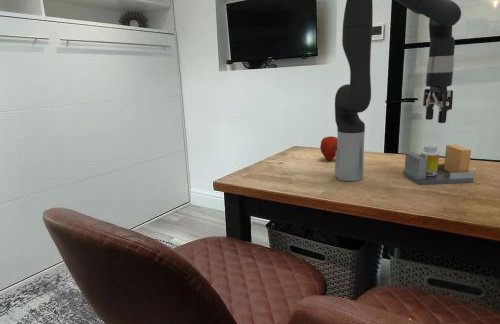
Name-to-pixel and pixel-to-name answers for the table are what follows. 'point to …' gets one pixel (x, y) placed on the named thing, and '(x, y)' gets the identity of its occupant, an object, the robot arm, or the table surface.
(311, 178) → the table surface
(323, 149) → the apple
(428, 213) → the table surface
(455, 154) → the tan rectangular block
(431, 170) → the supplement bottle
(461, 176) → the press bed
